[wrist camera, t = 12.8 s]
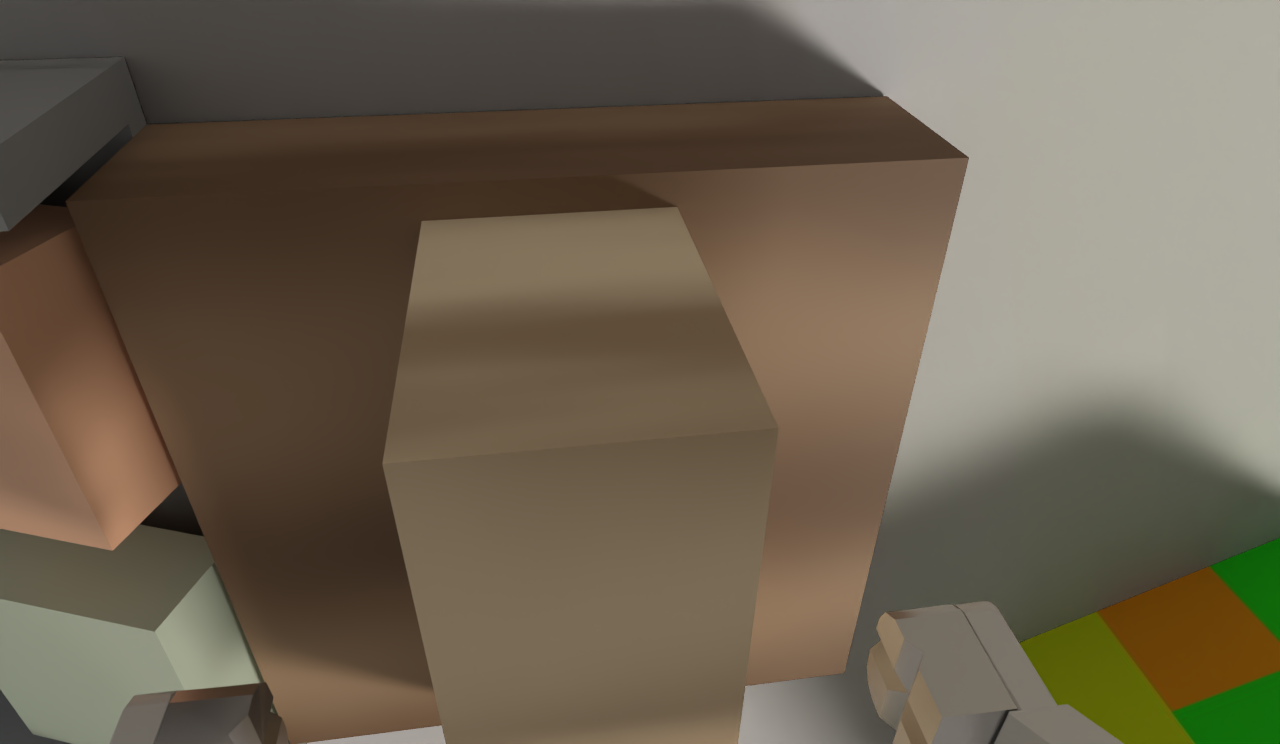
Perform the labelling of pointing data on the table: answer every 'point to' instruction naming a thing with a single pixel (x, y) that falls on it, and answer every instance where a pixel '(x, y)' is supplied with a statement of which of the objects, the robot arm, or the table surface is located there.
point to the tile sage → (112, 628)
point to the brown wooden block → (375, 319)
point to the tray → (66, 195)
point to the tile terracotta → (70, 397)
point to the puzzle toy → (1177, 658)
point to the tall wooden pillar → (578, 481)
